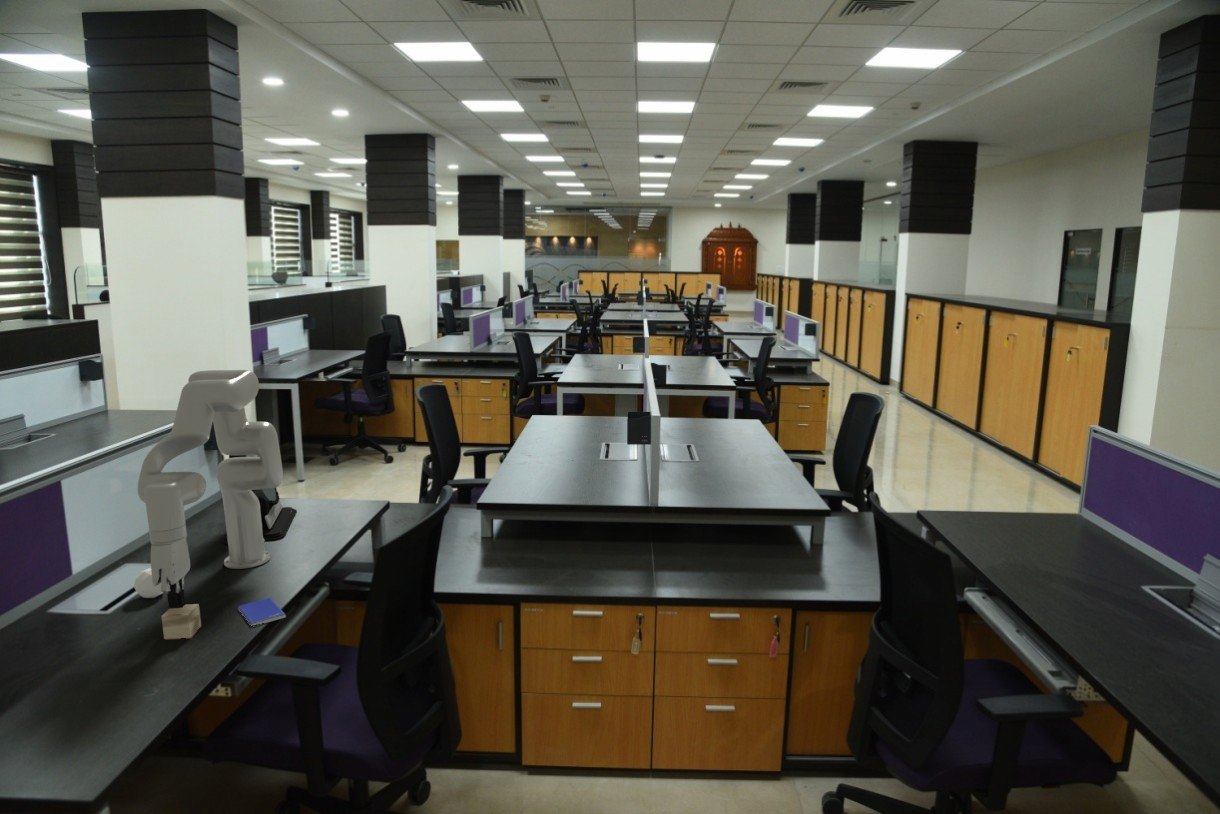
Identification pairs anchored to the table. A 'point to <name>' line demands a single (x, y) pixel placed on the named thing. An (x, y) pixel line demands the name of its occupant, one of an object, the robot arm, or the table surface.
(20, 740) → the table surface
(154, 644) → the table surface
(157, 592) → the geometric ball
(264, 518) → the award
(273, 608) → the hard drive
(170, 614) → the maple cube
